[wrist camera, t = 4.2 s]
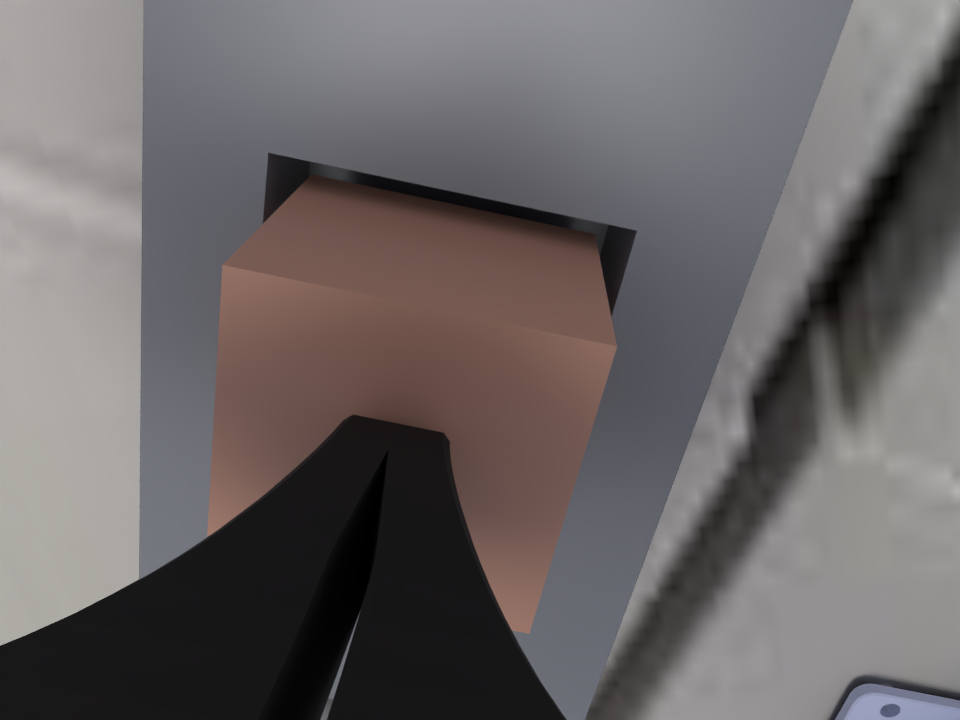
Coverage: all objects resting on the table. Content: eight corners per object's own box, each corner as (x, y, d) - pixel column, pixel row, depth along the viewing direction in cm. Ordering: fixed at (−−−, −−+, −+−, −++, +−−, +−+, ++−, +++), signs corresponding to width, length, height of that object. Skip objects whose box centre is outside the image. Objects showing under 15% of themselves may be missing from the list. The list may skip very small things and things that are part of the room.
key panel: (781, -21, 15) (857, -11, 11) (494, 841, 27) (488, 978, 23) (240, -142, 15) (144, -169, 11) (190, 784, 26) (136, 915, 23)
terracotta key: (594, 234, 14) (617, 346, 10) (531, 467, 17) (529, 633, 13) (311, 174, 14) (222, 265, 10) (286, 418, 16) (205, 570, 12)
